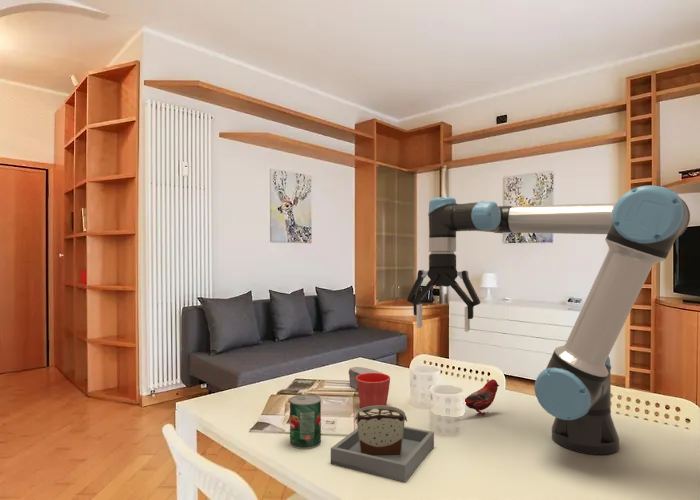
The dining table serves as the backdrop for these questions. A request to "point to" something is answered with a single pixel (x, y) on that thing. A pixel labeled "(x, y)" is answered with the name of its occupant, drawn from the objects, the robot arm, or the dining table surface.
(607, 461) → the dining table surface
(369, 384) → the flower pot
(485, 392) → the decorative bird figurine
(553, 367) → the robot arm
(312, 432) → the canned tomato
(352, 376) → the decorative stone
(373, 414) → the food container
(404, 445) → the tray
